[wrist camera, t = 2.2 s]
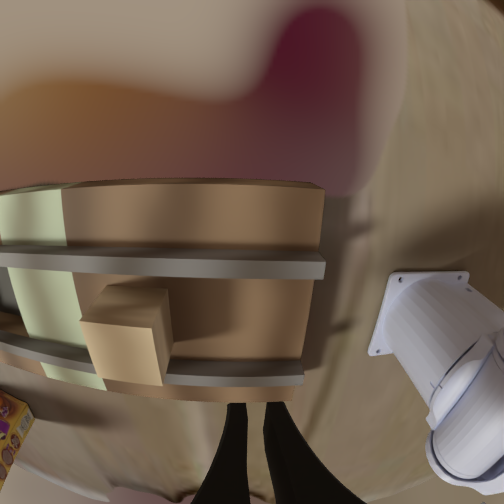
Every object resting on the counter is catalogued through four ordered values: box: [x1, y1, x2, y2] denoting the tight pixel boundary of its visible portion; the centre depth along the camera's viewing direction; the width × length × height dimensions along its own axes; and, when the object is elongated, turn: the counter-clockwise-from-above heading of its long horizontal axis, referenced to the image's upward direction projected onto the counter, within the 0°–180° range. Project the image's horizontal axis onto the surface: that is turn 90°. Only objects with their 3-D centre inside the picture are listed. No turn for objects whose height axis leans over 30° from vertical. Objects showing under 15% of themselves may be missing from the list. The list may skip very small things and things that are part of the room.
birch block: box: [79, 285, 174, 386], centre depth 15 cm, size 4×4×4 cm
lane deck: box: [0, 178, 326, 402], centre depth 17 cm, size 32×16×4 cm, turn 87°
